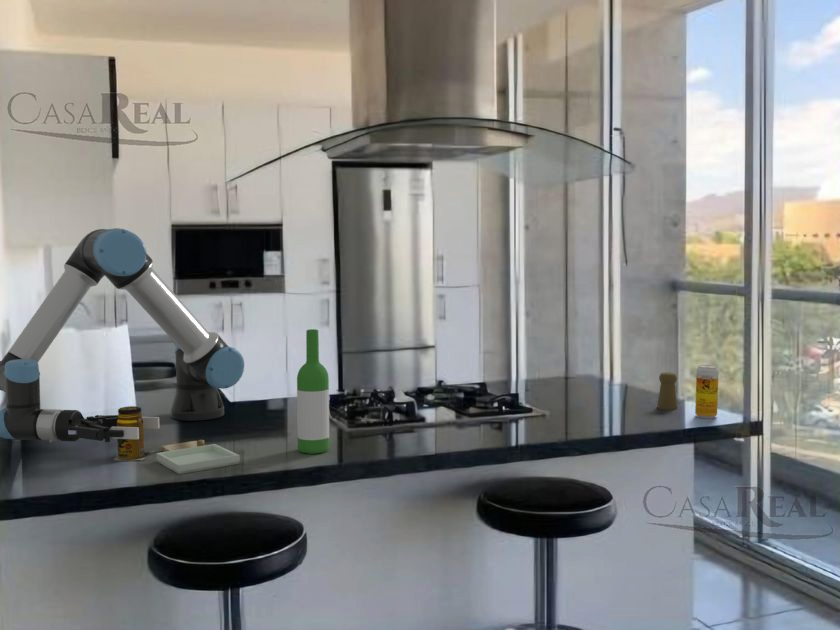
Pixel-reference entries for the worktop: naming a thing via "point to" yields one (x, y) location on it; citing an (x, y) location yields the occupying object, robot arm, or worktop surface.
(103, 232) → the robot arm
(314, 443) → the wine bottle
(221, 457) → the tray
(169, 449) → the bench board
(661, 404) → the cork
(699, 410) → the beer can
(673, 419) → the worktop surface
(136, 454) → the condiment
